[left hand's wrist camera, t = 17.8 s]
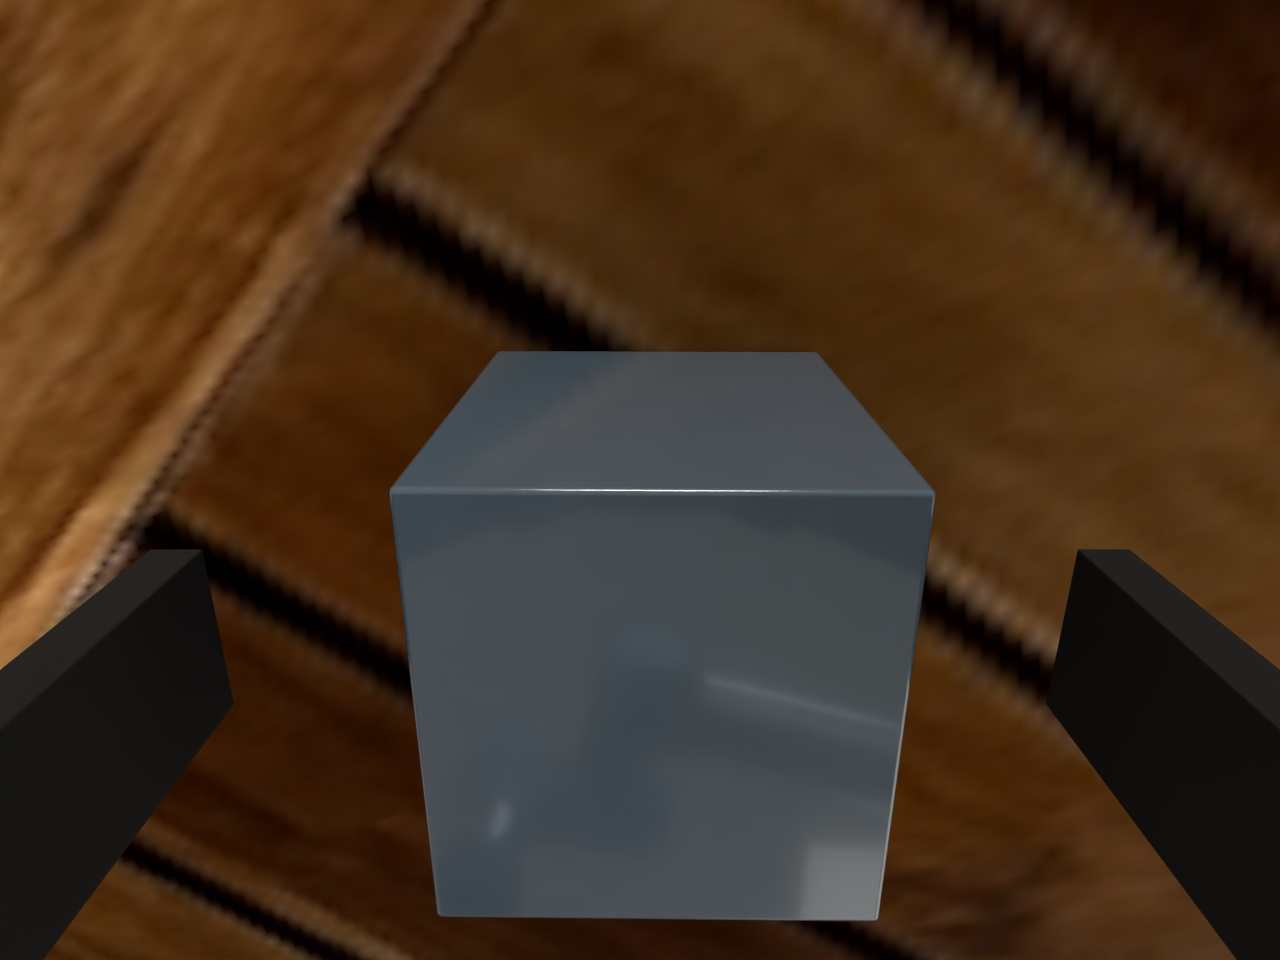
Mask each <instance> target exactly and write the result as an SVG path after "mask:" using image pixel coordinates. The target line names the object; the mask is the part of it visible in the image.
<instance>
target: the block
mask: <svg viewBox="0 0 1280 960" xmlns="http://www.w3.org/2000/svg"><path fill="white" fill-rule="evenodd" d="M389 497H390V506H391V514H392V523H393V532H394V540H395V549H396V558H397V567H398V575H399V584H400V593H401V602H402V610H403V619H404V628H405V636H406V645H407V654H408V663H409V671H410V680H411V689H412V697H413V706H414V715H415V724H416V732H417V741H418V750H419V759H420V767H421V776H422V785H423V793H424V802H425V811H426V820H427V828H428V837H429V846H430V854H431V863H432V872H433V881H434V889H435V898H436V907H437V913H438V915H439V916H441V917H502V918H596V919H690V920H784V921H876V920H877V919H878V916H879V910H880V902H881V895H882V888H883V880H884V873H885V866H886V858H887V851H888V844H889V836H890V829H891V822H892V814H893V807H894V800H895V792H896V785H897V778H898V770H899V763H900V756H901V748H902V741H903V734H904V726H905V719H906V712H907V704H908V697H909V690H910V682H911V675H912V668H913V660H914V653H915V646H916V638H917V631H918V624H919V616H920V609H921V602H922V594H923V587H924V580H925V572H926V565H927V558H928V550H929V543H930V536H931V528H932V521H933V514H934V506H935V499H936V494H935V490H934V489H933V488H932V487H931V486H930V484H929V483H928V482H927V481H926V480H925V479H924V477H923V476H922V475H921V474H920V473H919V471H918V470H917V469H916V468H915V467H914V466H913V464H912V463H911V462H910V461H909V460H908V459H907V457H906V456H905V455H904V454H903V453H902V451H901V450H900V449H899V448H898V447H897V446H896V444H895V443H894V442H893V441H892V440H891V438H890V437H889V436H888V435H887V434H886V433H885V431H884V430H883V429H882V428H881V427H880V426H879V424H878V423H877V422H876V421H875V420H874V418H873V417H872V416H871V415H870V414H869V413H868V411H867V410H866V409H865V408H864V407H863V405H862V404H861V403H860V402H859V401H858V400H857V398H856V397H855V396H854V395H853V394H852V393H851V391H850V390H849V389H848V388H847V387H846V385H845V384H844V383H843V382H842V381H841V380H840V378H839V377H838V376H837V375H836V374H835V372H834V371H833V370H832V369H831V368H830V367H829V365H828V364H827V363H826V362H825V361H824V360H823V358H822V357H821V356H820V355H819V354H818V353H816V352H569V351H499V352H497V353H496V354H495V355H494V357H493V358H492V359H491V361H490V362H489V363H488V364H487V366H486V367H485V368H484V369H483V371H482V372H481V373H480V375H479V376H478V377H477V378H476V380H475V381H474V382H473V383H472V385H471V386H470V387H469V389H468V390H467V391H466V392H465V394H464V395H463V396H462V397H461V399H460V400H459V401H458V403H457V404H456V405H455V406H454V408H453V409H452V410H451V411H450V413H449V414H448V415H447V417H446V418H445V419H444V420H443V422H442V423H441V424H440V425H439V427H438V428H437V429H436V431H435V432H434V433H433V434H432V436H431V437H430V438H429V439H428V441H427V442H426V443H425V445H424V446H423V447H422V448H421V450H420V451H419V452H418V453H417V455H416V456H415V457H414V459H413V460H412V461H411V462H410V464H409V465H408V466H407V467H406V469H405V470H404V471H403V473H402V474H401V475H400V476H399V478H398V479H397V480H396V481H395V483H394V484H393V485H392V487H391V488H390V491H389Z"/></svg>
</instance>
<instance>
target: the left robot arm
mask: <svg viewBox="0 0 1280 960" xmlns="http://www.w3.org/2000/svg"><path fill="white" fill-rule="evenodd" d="M233 704H234V703H233V698H232V694H231V689H230V684H229V679H228V674H227V669H226V664H225V659H224V655H223V650H222V645H221V640H220V635H219V630H218V625H217V620H216V615H215V611H214V606H213V601H212V596H211V591H210V586H209V581H208V576H207V571H206V567H205V562H204V557H203V552H202V550H150V551H148V552H147V553H146V554H145V555H143V556H142V557H141V558H140V559H138V560H137V561H136V562H135V563H133V564H132V565H131V566H130V567H128V568H127V569H126V570H125V571H123V572H122V573H121V574H120V575H118V576H117V577H116V578H115V579H113V580H112V581H111V582H110V583H108V584H107V585H106V586H105V587H103V588H102V589H101V590H100V591H98V592H97V593H96V594H95V595H93V596H92V597H91V598H90V599H88V600H87V601H86V602H85V603H83V604H82V605H81V606H80V607H78V608H77V609H76V610H75V611H73V612H72V613H71V614H70V615H68V616H67V617H66V618H65V619H63V620H62V621H61V622H60V623H58V624H57V625H56V626H55V627H53V628H52V629H51V630H50V631H48V632H47V633H46V634H45V635H43V636H42V637H41V638H40V639H38V640H37V641H36V642H35V643H33V644H32V645H31V646H30V647H28V648H27V649H26V650H25V651H23V652H22V653H21V654H20V655H18V656H17V657H16V658H15V659H13V660H12V661H11V662H10V663H8V664H7V665H6V666H5V667H3V668H2V669H1V670H0V960H43V959H44V958H45V957H46V955H47V954H48V953H49V951H50V950H51V949H52V947H53V946H54V945H55V943H56V942H57V941H58V939H59V938H60V937H61V935H62V934H63V932H64V931H65V930H66V928H67V927H68V926H69V924H70V923H71V922H72V920H73V919H74V918H75V916H76V915H77V914H78V912H79V911H80V910H81V908H82V907H83V906H84V904H85V903H86V902H87V900H88V899H89V898H90V896H91V895H92V894H93V892H94V891H95V890H96V888H97V887H98V885H99V884H100V883H101V881H102V880H103V879H104V877H105V876H106V875H107V873H108V872H109V871H110V869H111V868H112V867H113V865H114V864H115V863H116V861H117V860H118V859H119V857H120V856H121V855H122V853H123V852H124V851H125V849H126V848H127V847H128V845H129V844H130V843H131V841H132V840H133V839H134V837H135V836H136V834H137V833H138V832H139V830H140V829H141V828H142V826H143V825H144V824H145V822H146V821H147V820H148V818H149V817H150V816H151V814H152V813H153V812H154V810H155V809H156V808H157V806H158V805H159V804H160V802H161V801H162V800H163V798H164V797H165V796H166V794H167V793H168V792H169V790H170V789H171V787H172V786H173V785H174V783H175V782H176V781H177V779H178V778H179V777H180V775H181V774H182V773H183V771H184V770H185V769H186V767H187V766H188V765H189V763H190V762H191V761H192V759H193V758H194V757H195V755H196V754H197V753H198V751H199V750H200V749H201V747H202V746H203V745H204V743H205V742H206V741H207V739H208V738H209V736H210V735H211V734H212V732H213V731H214V730H215V728H216V727H217V726H218V724H219V723H220V722H221V720H222V719H223V718H224V716H225V715H226V714H227V712H228V711H229V710H230V708H231V707H232V706H233ZM1046 704H1047V706H1048V707H1049V708H1050V710H1051V711H1052V712H1053V714H1054V715H1055V716H1056V718H1057V719H1058V720H1059V722H1060V723H1061V724H1062V726H1063V727H1064V728H1065V730H1066V731H1067V732H1068V734H1069V735H1070V736H1071V738H1072V739H1073V741H1074V742H1075V743H1076V745H1077V746H1078V747H1079V749H1080V750H1081V751H1082V753H1083V754H1084V755H1085V757H1086V758H1087V759H1088V761H1089V762H1090V763H1091V765H1092V766H1093V767H1094V769H1095V770H1096V771H1097V773H1098V774H1099V775H1100V777H1101V778H1102V779H1103V781H1104V782H1105V783H1106V785H1107V786H1108V787H1109V789H1110V790H1111V792H1112V793H1113V794H1114V796H1115V797H1116V798H1117V800H1118V801H1119V802H1120V804H1121V805H1122V806H1123V808H1124V809H1125V810H1126V812H1127V813H1128V814H1129V816H1130V817H1131V818H1132V820H1133V821H1134V822H1135V824H1136V825H1137V826H1138V828H1139V829H1140V830H1141V832H1142V833H1143V834H1144V836H1145V837H1146V839H1147V840H1148V841H1149V843H1150V844H1151V845H1152V847H1153V848H1154V849H1155V851H1156V852H1157V853H1158V855H1159V856H1160V857H1161V859H1162V860H1163V861H1164V863H1165V864H1166V865H1167V867H1168V868H1169V869H1170V871H1171V872H1172V873H1173V875H1174V876H1175V877H1176V879H1177V880H1178V881H1179V883H1180V884H1181V885H1182V887H1183V888H1184V890H1185V891H1186V892H1187V894H1188V895H1189V896H1190V898H1191V899H1192V900H1193V902H1194V903H1195V904H1196V906H1197V907H1198V908H1199V910H1200V911H1201V912H1202V914H1203V915H1204V916H1205V918H1206V919H1207V920H1208V922H1209V923H1210V924H1211V926H1212V927H1213V928H1214V930H1215V931H1216V932H1217V934H1218V935H1219V937H1220V938H1221V939H1222V941H1223V942H1224V943H1225V945H1226V946H1227V947H1228V949H1229V950H1230V951H1231V953H1232V954H1233V955H1234V957H1235V958H1236V959H1237V960H1280V670H1279V669H1278V668H1277V667H1275V666H1274V665H1273V664H1272V663H1270V662H1269V661H1268V660H1267V659H1265V658H1264V657H1263V656H1262V655H1260V654H1259V653H1258V652H1257V651H1255V650H1254V649H1253V648H1252V647H1250V646H1249V645H1248V644H1247V643H1245V642H1244V641H1243V640H1242V639H1240V638H1239V637H1238V636H1237V635H1235V634H1234V633H1233V632H1232V631H1230V630H1229V629H1228V628H1227V627H1225V626H1224V625H1223V624H1222V623H1220V622H1219V621H1218V620H1217V619H1215V618H1214V617H1213V616H1212V615H1210V614H1209V613H1208V612H1207V611H1205V610H1204V609H1203V608H1202V607H1200V606H1199V605H1198V604H1197V603H1195V602H1194V601H1193V600H1192V599H1190V598H1189V597H1188V596H1187V595H1185V594H1184V593H1183V592H1182V591H1180V590H1179V589H1178V588H1177V587H1175V586H1174V585H1173V584H1172V583H1170V582H1169V581H1168V580H1167V579H1165V578H1164V577H1163V576H1162V575H1160V574H1159V573H1158V572H1157V571H1155V570H1154V569H1153V568H1152V567H1150V566H1149V565H1148V564H1147V563H1145V562H1144V561H1143V560H1142V559H1140V558H1139V557H1138V556H1137V555H1135V554H1134V553H1133V552H1132V551H1130V550H1078V552H1077V557H1076V562H1075V567H1074V571H1073V576H1072V581H1071V586H1070V591H1069V596H1068V601H1067V606H1066V611H1065V615H1064V620H1063V625H1062V630H1061V635H1060V640H1059V645H1058V650H1057V654H1056V659H1055V664H1054V669H1053V674H1052V679H1051V684H1050V689H1049V694H1048V698H1047V703H1046Z"/></svg>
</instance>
